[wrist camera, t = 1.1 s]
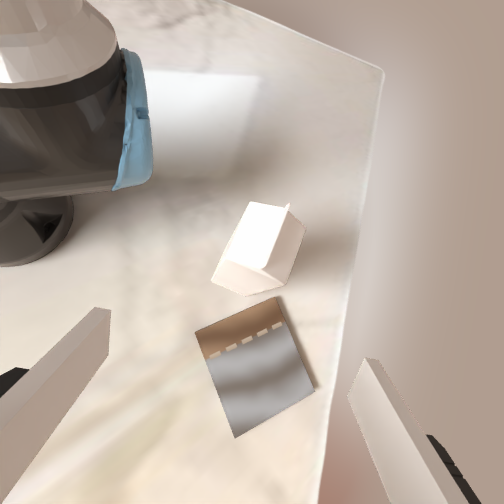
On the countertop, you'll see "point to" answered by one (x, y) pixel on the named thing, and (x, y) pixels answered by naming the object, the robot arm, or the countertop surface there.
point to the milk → (260, 250)
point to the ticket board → (254, 365)
